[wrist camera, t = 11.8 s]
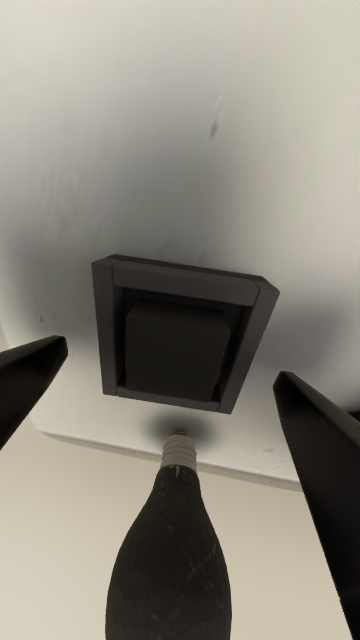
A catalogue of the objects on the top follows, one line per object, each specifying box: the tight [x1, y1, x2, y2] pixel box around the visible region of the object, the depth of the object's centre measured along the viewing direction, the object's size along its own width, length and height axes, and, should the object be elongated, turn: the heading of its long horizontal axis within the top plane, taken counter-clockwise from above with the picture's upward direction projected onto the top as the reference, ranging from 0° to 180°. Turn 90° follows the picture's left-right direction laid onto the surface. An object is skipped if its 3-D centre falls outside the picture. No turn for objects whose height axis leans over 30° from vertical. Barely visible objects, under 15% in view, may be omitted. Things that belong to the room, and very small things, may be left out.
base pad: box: [92, 254, 280, 414], centre depth 9 cm, size 7×7×2 cm
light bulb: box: [105, 432, 232, 640], centre depth 11 cm, size 6×6×10 cm
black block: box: [126, 298, 231, 403], centre depth 9 cm, size 4×4×2 cm
